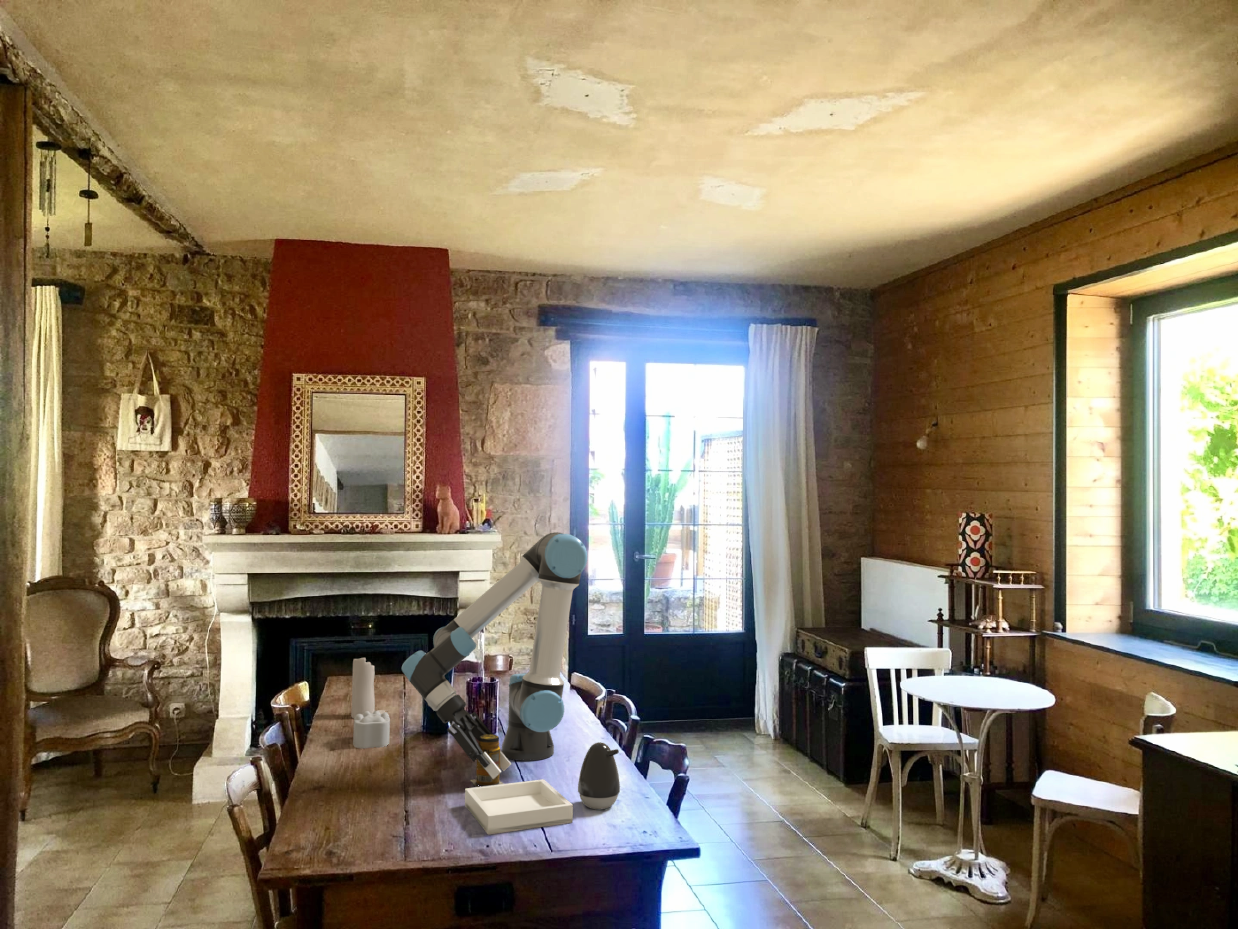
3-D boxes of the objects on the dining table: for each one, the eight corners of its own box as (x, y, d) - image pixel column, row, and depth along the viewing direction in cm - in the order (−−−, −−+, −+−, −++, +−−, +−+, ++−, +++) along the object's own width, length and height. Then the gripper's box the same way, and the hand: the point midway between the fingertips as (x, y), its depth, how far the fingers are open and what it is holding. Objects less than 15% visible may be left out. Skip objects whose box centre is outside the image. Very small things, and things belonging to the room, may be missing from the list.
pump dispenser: (605, 816, 209) (606, 751, 210) (569, 807, 215) (570, 744, 215) (628, 804, 218) (629, 741, 219) (592, 796, 224) (594, 734, 224)
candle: (393, 712, 305) (394, 653, 306) (361, 720, 294) (363, 659, 294) (378, 709, 309) (380, 651, 310) (346, 717, 297) (348, 656, 298)
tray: (543, 795, 223) (543, 779, 223) (572, 822, 205) (572, 805, 205) (464, 805, 215) (465, 788, 215) (488, 834, 197) (488, 816, 197)
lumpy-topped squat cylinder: (353, 749, 260) (354, 719, 261) (352, 737, 273) (353, 709, 273) (390, 746, 264) (391, 717, 264) (387, 735, 276) (388, 707, 276)
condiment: (496, 777, 237) (497, 732, 237) (506, 787, 229) (507, 740, 229) (469, 781, 233) (471, 734, 234) (479, 791, 226) (480, 743, 226)
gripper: (453, 704, 246) (507, 770, 241) (419, 720, 227) (477, 792, 223) (471, 686, 245) (525, 752, 240) (439, 701, 226) (497, 773, 221)
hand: (502, 771), depth 231 cm, fingers closed on condiment, 6 cm apart
